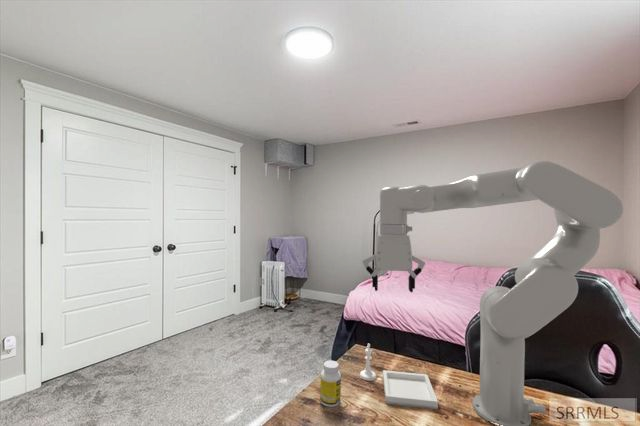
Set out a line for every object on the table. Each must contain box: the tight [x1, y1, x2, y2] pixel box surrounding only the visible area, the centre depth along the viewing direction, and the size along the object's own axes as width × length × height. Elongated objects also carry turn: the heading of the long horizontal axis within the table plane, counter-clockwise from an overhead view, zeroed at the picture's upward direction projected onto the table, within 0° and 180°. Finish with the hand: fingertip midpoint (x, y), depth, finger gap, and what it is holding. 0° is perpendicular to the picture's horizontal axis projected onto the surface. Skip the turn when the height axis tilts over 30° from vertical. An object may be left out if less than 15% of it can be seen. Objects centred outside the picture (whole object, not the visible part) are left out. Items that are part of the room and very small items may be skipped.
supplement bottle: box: [319, 360, 342, 408], centre depth 78 cm, size 5×5×10 cm
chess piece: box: [359, 343, 377, 382], centre depth 91 cm, size 5×5×10 cm
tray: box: [382, 369, 439, 410], centre depth 83 cm, size 13×13×2 cm
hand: (393, 290), depth 85 cm, fingers open, 9 cm apart
